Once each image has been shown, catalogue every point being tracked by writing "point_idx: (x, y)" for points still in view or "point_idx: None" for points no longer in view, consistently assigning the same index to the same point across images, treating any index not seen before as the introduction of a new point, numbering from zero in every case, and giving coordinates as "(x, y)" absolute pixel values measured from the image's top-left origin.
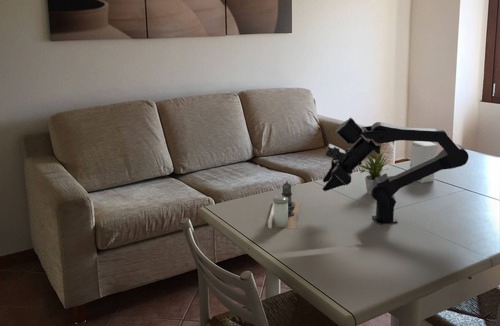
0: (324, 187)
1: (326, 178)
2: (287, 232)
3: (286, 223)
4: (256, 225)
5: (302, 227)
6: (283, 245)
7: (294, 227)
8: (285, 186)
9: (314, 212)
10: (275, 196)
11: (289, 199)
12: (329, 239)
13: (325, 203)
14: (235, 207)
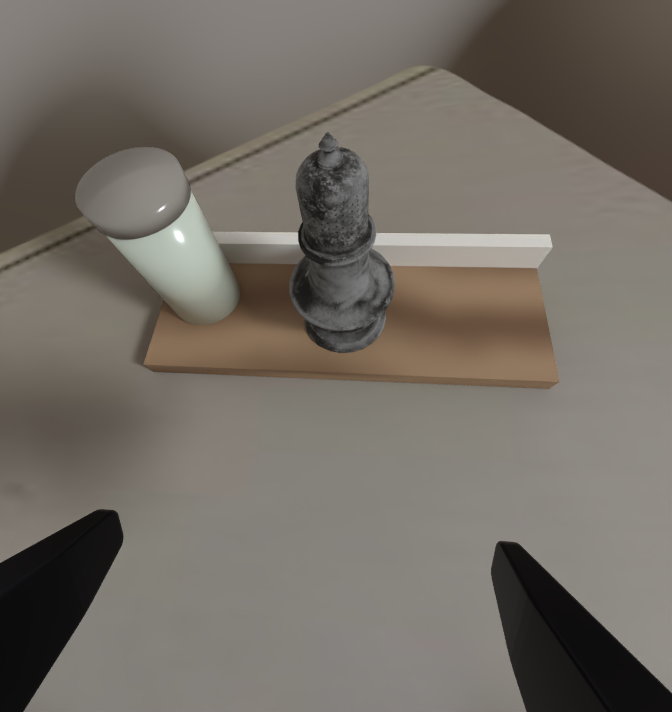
0: (56, 538)
1: (519, 621)
2: None
3: (174, 311)
4: (257, 219)
5: (211, 399)
6: (33, 321)
7: (163, 354)
8: (299, 168)
9: (437, 473)
10: (545, 236)
11: (313, 271)
12: (22, 541)
13: (636, 567)
14: (455, 137)
